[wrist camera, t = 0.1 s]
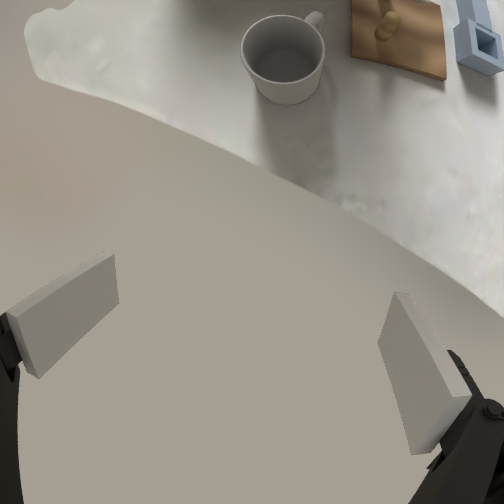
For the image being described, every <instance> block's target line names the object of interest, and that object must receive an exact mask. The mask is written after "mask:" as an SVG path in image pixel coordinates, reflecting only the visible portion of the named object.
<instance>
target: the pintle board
mask: <svg viewBox="0 0 504 504" xmlns="http://www.w3.org/2000/svg"><path fill="white" fill-rule="evenodd" d="M351 57H354V58H359V59H364V60H369V61H374V62H378V63H382V64H387V65H391V66H395V67H398V68H402V69H406V70H409V71H413V72H416V73H419V74H423V75H426V76H429V77H432V78H435V79H438V80H441V81H443V80H446V79H447V74H446V54H445V41H444V31H443V23H442V15H441V9H440V5H437V4H435V3H432V2H430V3H429V4H428V5H427V6H425V5H422V4H419V3H416V2H413V1H410V0H390V2H387V1H383V0H351Z"/></svg>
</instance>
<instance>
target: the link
mask: <svg viewBox="0 0 504 504" xmlns="http://www.w3.org/2000/svg"><path fill="white" fill-rule="evenodd" d="M456 1H457V6H458V12H459V18H460V24H459V25H457V26H456V27H455V28H453V29H454V38H455V48H456V60H457V62H458V63H460V64H463V65H465V66H467V67H470V68H472V69H474V70H476V71H478V72H481V73H483V74H485V75H487V76H490V75H493V74H496V73H499V72H502V71H504V57H503V50H502V43H501V37H500V35H499V34H497V33H496V32H494V31H492V26H491V21H490V16H489V11H488V7H487V3H486V0H456ZM478 45H479V46H480V50H478Z"/></svg>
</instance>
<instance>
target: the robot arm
mask: <svg viewBox="0 0 504 504" xmlns="http://www.w3.org/2000/svg"><path fill="white" fill-rule="evenodd" d="M118 304H119V298H118V289H117V280H116V270H115V257H114V254H112V253H106V252H101V253H99V254H98V255H96V256H94V257H92V258H91V259H89V260H87V261H86V262H84V263H82V264H80V265H79V266H77V267H75V268H74V269H72V270H70V271H68V272H67V273H65V274H63V275H62V276H60V277H58V278H57V279H55V280H54V281H52V282H51V283H49V284H47V285H45V286H44V287H42V288H41V289H40V290H38V291H36V292H35V293H33V294H31V295H30V296H28V297H27V298H25V299H24V300H22V301H21V302H19V303H18V304H16V305H14V306H13V307H12V308H10V309H8V310H7V311H6V312H5V313H4V314H2V315H1V316H0V504H24V502H23V496H22V488H21V481H20V471H19V458H18V434H17V418H18V392H19V379H20V368H19V367H18V364H19V363H20V362H21V361H23V363H24V366H25V368H26V371H27V372H28V373H29V374H31V375H33V376H35V377H36V378H38V379H40V378H41V377H42V376H43V375H44V374H45V373H46V372H47V371H48V370H49V369H50V368H51V367H52V366H53V365H54V364H55V363H56V362H57V361H58V360H59V359H60V358H61V357H62V356H63V355H64V354H65V353H66V352H68V350H70V349H71V348H72V347H73V346H74V345H75V344H76V343H77V342H78V341H79V340H80V339H81V338H82V337H83V336H84V335H85V334H86V333H87V332H89V331H90V330H91V329H92V328H93V327H94V326H95V325H96V324H97V323H98V322H99V321H100V320H102V319H103V318H104V317H105V316H106V315H107V314H108V313H109V312H110V311H111V310H113V308H115V307H116V306H117V305H118ZM378 345H379V348H380V351H381V354H382V357H383V360H384V363H385V365H386V369H387V372H388V375H389V378H390V380H391V384H392V387H393V391H394V394H395V397H396V400H397V404H398V407H399V411H400V414H401V418H402V421H403V425H404V429H405V432H406V435H407V440H408V444H409V448H410V452H411V455H418V454H425V453H431V452H432V450H433V449H434V448H435V447H436V445H437V444H438V443H439V442H440V445H441V448H442V451H441V452H440V454H439V455H438V456H437V457H436V458H435V459H434V460H433V461H432V462H431V464H430V465H429V466H428V467H427V469H430V470H429V472H428V474H427V475H426V477H425V479H424V480H423V482H422V484H421V485H420V487H419V488H418V490H417V491H416V493H415V494H414V496H413V498H412V499H411V501H410V502H409V503H408V504H504V408H503V406H502V405H501V404H500V403H498V402H496V401H495V400H492V399H484V397H483V395H482V394H481V392H480V390H479V389H478V387H477V385H476V383H475V382H474V380H473V378H472V377H471V376H470V375H469V374H470V373H469V372H468V370H467V368H465V366H464V363H463V362H462V360H461V359H460V357H458V356H457V355H456V354H455V353H454V352H453V351H451V350H446V349H445V347H444V345H443V344H442V342H441V341H440V339H439V337H438V336H437V334H436V333H435V331H434V330H433V328H432V327H431V325H430V324H429V322H428V321H427V319H426V318H425V316H424V315H423V313H422V312H421V310H420V309H419V308H418V306H417V304H416V303H415V302H414V300H413V299H412V297H411V296H410V294H409V293H401V292H394V293H393V297H392V300H391V304H390V307H389V310H388V314H387V317H386V320H385V323H384V326H383V329H382V332H381V335H380V338H379V341H378Z"/></svg>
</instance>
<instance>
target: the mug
mask: <svg viewBox="0 0 504 504" xmlns="http://www.w3.org/2000/svg"><path fill="white" fill-rule="evenodd" d="M324 23H325V18H324V15H323V14H322V13H320V12H318V11H313V12H311V13H310V14H309V15H308V16H307V17H306V18H305V19H304V20H303V19H301V18H298V17H295V16H290V15H274V16H269V17H266V18H263V19H261V20H259V21H257V22H256V23H254V24H253V25H252V26H251V27H250V28H249V29H248V30H247V31H246V33H245V35H244V36H243V39H242V42H241V46H240V53H241V58H242V61H243V64H244V66H245V67H246V69H247V71H248V72H249V74H250V76H251V77H252V79H253V81H254V82H255V84H256V86H257V88H258V90H259V91H260V92H261V94H262V95H264V96H265V97H266V98H267V99H269V100H271V101H272V102H275V103H278V104H284V105H292V104H297V103H300V102H303V101H305V100H306V99H308V98H309V97H310V96H311V95H312V94H313V93H314V92H315V90H316V89H317V86H318V84H319V80H320V75H321V71H322V68H323V64H324V60H325V54H326V49H325V43H324V40H323V38H322V36H321V34H320V33H321V32H322V29H323V27H324Z"/></svg>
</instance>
